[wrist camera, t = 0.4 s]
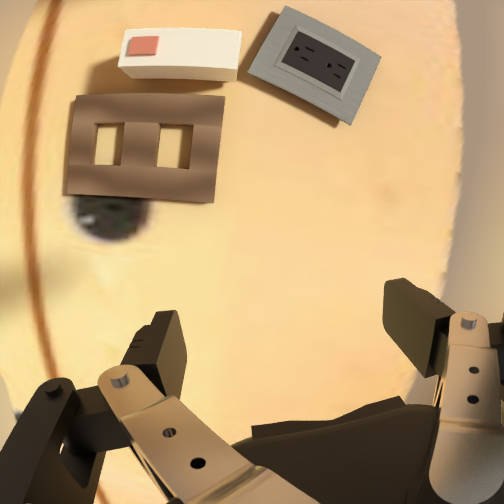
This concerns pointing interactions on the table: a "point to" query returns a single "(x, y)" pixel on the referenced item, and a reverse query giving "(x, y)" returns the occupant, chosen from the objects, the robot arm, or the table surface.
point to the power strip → (181, 53)
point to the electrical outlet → (316, 64)
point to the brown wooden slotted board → (145, 145)
